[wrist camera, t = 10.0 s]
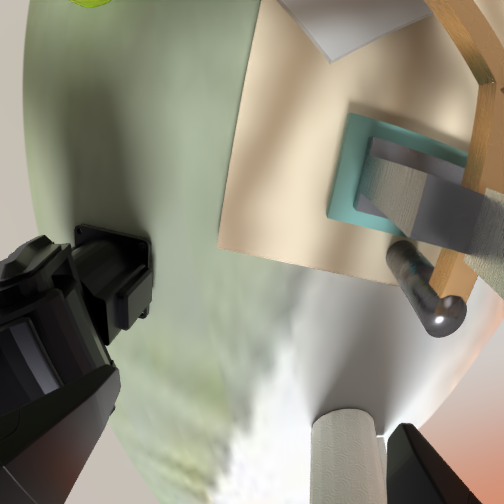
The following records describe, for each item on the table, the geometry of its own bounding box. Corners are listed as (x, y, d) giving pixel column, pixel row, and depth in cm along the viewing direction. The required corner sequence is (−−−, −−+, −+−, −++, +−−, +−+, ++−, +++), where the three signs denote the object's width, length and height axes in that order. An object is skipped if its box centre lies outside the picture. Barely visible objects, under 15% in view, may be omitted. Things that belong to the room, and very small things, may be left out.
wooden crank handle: (386, 275, 19) (422, 342, 12) (301, -63, 12) (300, -130, 5) (467, 257, 18) (523, 311, 11) (389, -65, 11) (418, -122, 4)
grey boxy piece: (369, 136, 15) (519, 152, 4) (489, 180, 15) (645, 253, 3) (352, 206, 17) (449, 347, 5) (472, 240, 16) (602, 357, 5)
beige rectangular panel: (220, 242, 21) (212, 253, 19) (283, -80, 12) (281, -95, 10) (450, 291, 20) (461, 305, 18) (503, -3, 11) (516, -10, 9)
